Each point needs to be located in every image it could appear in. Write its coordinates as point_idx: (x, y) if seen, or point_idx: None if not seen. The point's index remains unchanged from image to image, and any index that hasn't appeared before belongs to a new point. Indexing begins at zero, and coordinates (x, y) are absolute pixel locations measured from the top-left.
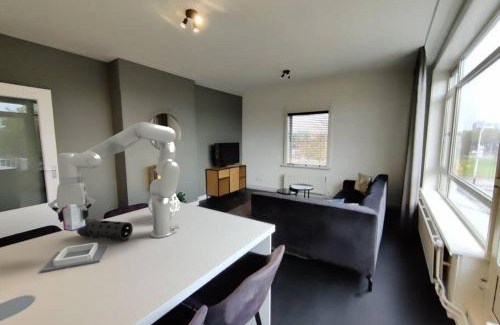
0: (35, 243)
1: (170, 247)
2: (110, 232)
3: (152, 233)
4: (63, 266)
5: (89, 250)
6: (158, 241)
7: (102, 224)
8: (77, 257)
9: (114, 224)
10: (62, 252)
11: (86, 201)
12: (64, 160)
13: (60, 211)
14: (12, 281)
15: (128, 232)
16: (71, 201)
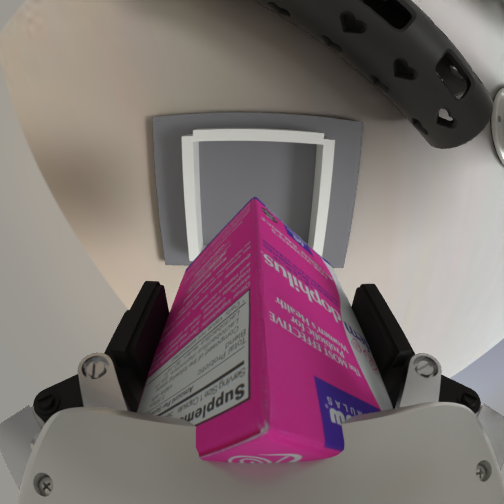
0: (50, 7)
1: (499, 251)
2: (401, 101)
3: (500, 126)
4: None
5: (295, 155)
6: (497, 191)
7: (366, 21)
8: None
9: (440, 84)
10: (193, 192)
11: (468, 410)
12: None
13: (136, 410)
14: (116, 275)
15: (449, 88)
16: None
